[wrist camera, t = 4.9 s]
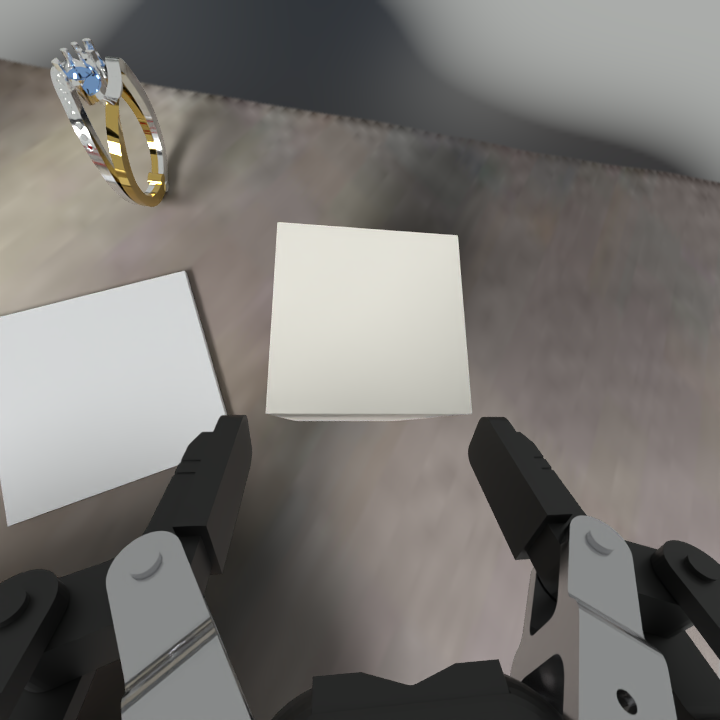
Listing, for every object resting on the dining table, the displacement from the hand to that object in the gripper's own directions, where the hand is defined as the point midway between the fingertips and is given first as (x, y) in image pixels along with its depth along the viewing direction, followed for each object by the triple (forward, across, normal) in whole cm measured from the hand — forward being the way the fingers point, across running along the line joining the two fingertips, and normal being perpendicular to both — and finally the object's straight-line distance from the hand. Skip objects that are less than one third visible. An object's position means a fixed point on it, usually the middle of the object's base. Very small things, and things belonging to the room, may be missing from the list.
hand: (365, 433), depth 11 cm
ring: (+19, +13, -5) cm, 24 cm away
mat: (+9, +14, +5) cm, 18 cm away
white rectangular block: (+10, 0, +4) cm, 10 cm away
